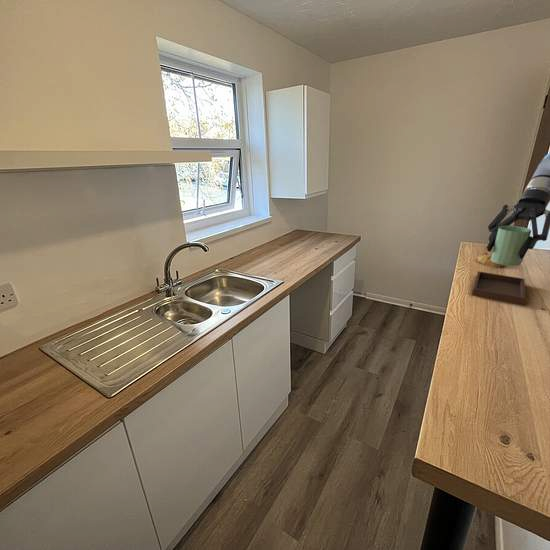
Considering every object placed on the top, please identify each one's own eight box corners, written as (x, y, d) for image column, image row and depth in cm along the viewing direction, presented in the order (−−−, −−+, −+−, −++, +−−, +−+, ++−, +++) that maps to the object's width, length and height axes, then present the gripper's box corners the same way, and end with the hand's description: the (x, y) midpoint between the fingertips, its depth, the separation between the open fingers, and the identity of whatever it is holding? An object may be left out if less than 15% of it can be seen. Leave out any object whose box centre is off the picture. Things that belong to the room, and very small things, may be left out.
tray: (476, 278, 113) (478, 271, 112) (522, 286, 105) (524, 278, 104) (471, 296, 100) (473, 288, 99) (523, 306, 92) (525, 298, 91)
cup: (512, 257, 102) (521, 225, 97) (526, 266, 94) (537, 232, 90) (485, 257, 103) (493, 225, 99) (497, 265, 96) (506, 232, 91)
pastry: (507, 266, 121) (510, 258, 120) (495, 269, 120) (497, 260, 118) (486, 259, 130) (488, 251, 128) (474, 261, 128) (476, 253, 126)
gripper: (580, 206, 92) (546, 267, 90) (501, 199, 108) (470, 251, 106) (581, 190, 87) (545, 254, 85) (498, 185, 103) (466, 239, 101)
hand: (504, 252), depth 95 cm, fingers closed on cup, 8 cm apart
